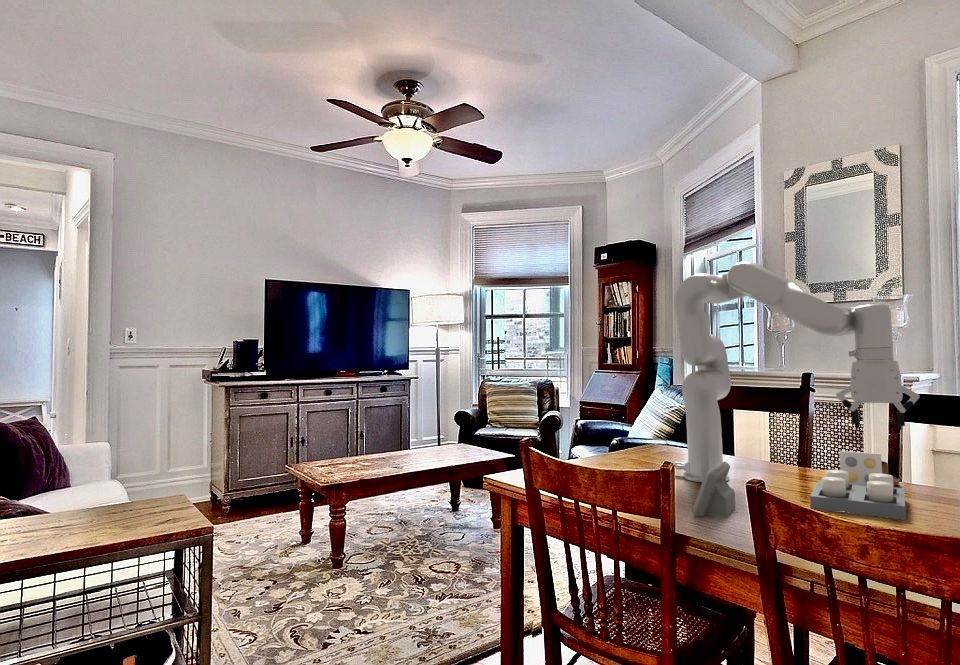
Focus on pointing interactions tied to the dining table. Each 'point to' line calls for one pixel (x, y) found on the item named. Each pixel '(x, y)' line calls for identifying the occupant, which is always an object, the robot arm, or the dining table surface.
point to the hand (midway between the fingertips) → (878, 427)
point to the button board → (860, 502)
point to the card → (860, 465)
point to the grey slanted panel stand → (715, 493)
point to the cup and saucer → (885, 471)
